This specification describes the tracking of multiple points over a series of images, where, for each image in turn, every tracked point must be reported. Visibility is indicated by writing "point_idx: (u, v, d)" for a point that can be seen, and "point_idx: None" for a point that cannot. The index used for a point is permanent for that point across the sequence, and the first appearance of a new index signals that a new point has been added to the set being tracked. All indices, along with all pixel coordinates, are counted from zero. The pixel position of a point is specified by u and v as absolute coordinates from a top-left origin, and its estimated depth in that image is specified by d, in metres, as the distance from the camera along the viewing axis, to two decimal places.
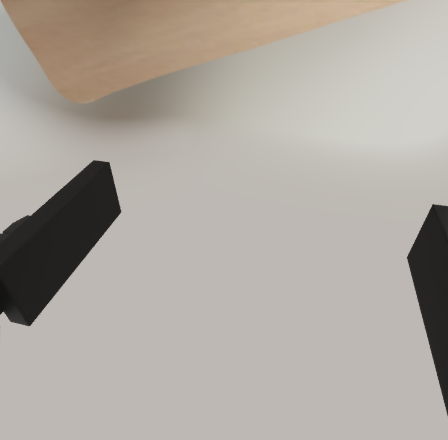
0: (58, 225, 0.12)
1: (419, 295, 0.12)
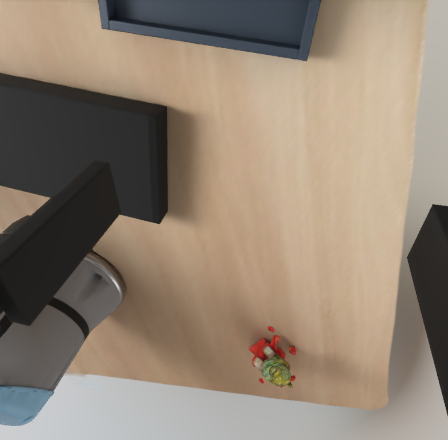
0: (58, 225, 0.12)
1: (419, 295, 0.12)
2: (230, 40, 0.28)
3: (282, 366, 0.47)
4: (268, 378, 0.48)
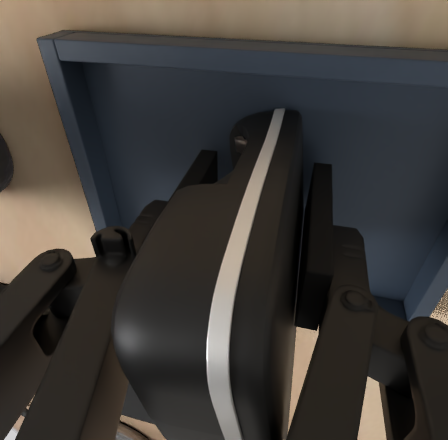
0: None
1: (302, 238, 0.14)
2: None
3: None
4: None
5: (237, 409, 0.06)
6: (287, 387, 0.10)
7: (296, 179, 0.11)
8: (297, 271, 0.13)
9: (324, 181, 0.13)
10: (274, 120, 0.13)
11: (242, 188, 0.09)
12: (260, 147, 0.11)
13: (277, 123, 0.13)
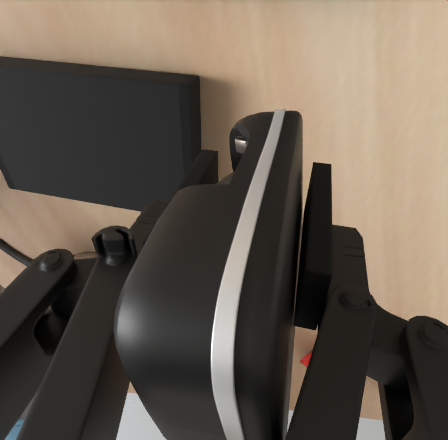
0: None
1: (301, 238, 0.14)
2: None
3: None
4: None
5: (240, 409, 0.06)
6: (287, 387, 0.10)
7: (297, 180, 0.11)
8: (296, 271, 0.13)
9: (323, 181, 0.13)
10: (275, 121, 0.13)
11: (244, 189, 0.09)
12: (261, 148, 0.11)
13: (278, 124, 0.13)
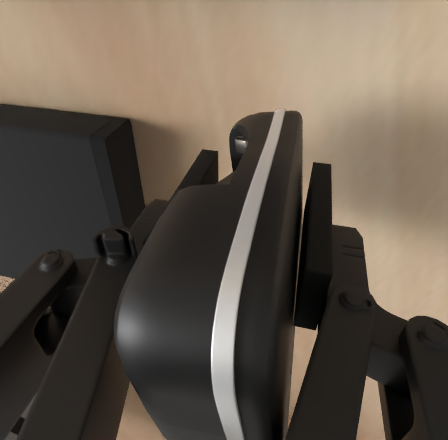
0: None
1: (301, 238, 0.14)
2: None
3: None
4: None
5: (241, 410, 0.06)
6: (287, 387, 0.10)
7: (297, 180, 0.11)
8: (296, 272, 0.13)
9: (323, 181, 0.13)
10: (275, 121, 0.13)
11: (244, 189, 0.09)
12: (261, 148, 0.11)
13: (278, 124, 0.13)
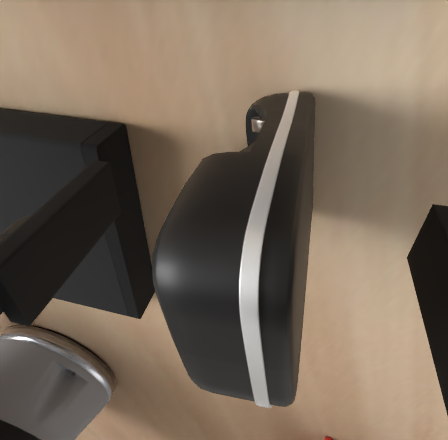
0: (58, 225, 0.12)
1: (419, 295, 0.12)
2: None
3: None
4: None
5: (262, 334, 0.07)
6: (299, 336, 0.11)
7: (310, 153, 0.12)
8: (307, 241, 0.14)
9: None
10: (290, 100, 0.14)
11: (264, 155, 0.10)
12: (278, 123, 0.12)
13: (292, 103, 0.14)
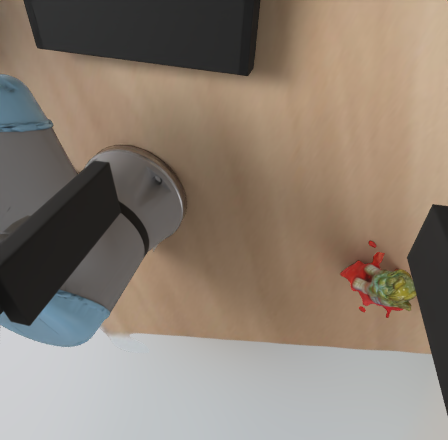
0: (58, 225, 0.12)
1: (419, 295, 0.12)
2: None
3: (405, 275, 0.36)
4: (385, 293, 0.36)
5: None
6: None
7: None
8: None
9: None
10: None
11: None
12: None
13: None
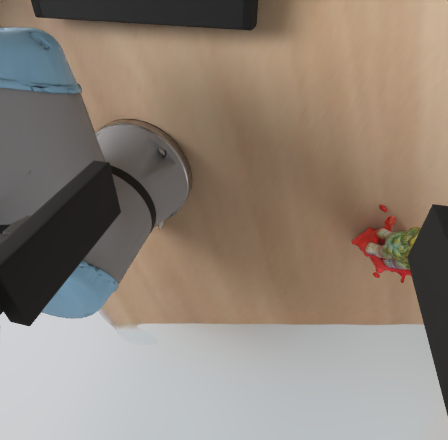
0: (58, 225, 0.12)
1: (419, 295, 0.12)
2: None
3: None
4: (400, 251, 0.36)
5: None
6: None
7: None
8: None
9: None
10: None
11: None
12: None
13: None
